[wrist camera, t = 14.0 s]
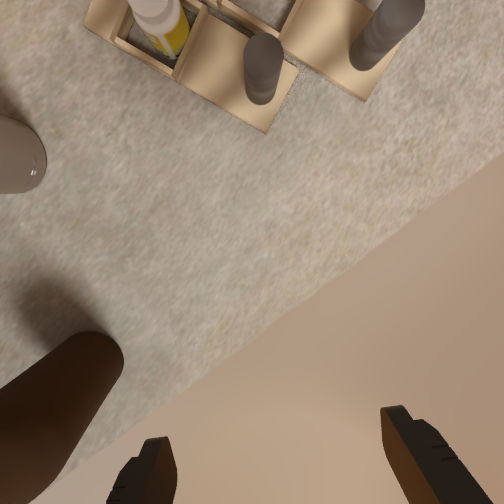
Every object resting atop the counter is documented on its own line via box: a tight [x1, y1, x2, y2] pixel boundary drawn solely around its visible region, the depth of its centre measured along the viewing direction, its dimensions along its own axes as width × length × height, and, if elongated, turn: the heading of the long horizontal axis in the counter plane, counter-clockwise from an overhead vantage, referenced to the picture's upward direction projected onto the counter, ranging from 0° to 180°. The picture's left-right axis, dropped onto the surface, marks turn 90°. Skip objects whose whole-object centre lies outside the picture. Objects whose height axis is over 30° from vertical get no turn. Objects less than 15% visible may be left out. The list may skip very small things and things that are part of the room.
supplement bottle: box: [128, 0, 191, 59], centre depth 30 cm, size 5×5×8 cm
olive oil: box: [0, 331, 124, 504], centre depth 31 cm, size 11×11×25 cm
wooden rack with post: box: [83, 0, 300, 134], centre depth 30 cm, size 24×8×10 cm, turn 61°
